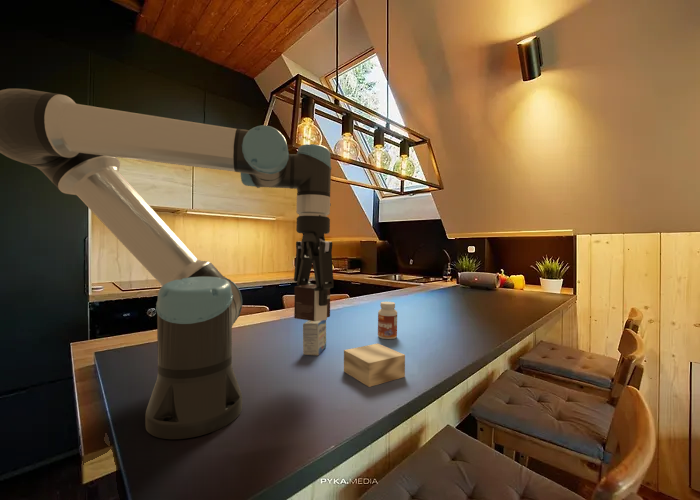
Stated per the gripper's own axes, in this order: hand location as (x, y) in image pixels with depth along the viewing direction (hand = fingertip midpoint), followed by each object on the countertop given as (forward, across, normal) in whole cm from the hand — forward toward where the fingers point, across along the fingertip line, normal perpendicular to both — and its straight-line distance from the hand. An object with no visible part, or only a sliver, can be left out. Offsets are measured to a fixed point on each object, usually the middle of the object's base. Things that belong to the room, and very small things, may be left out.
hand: (311, 316), depth 75 cm
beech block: (+13, -7, -12) cm, 20 cm away
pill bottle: (+13, +15, -34) cm, 40 cm away
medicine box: (+14, +15, -8) cm, 22 cm away
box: (+1, 0, 0) cm, 1 cm away
